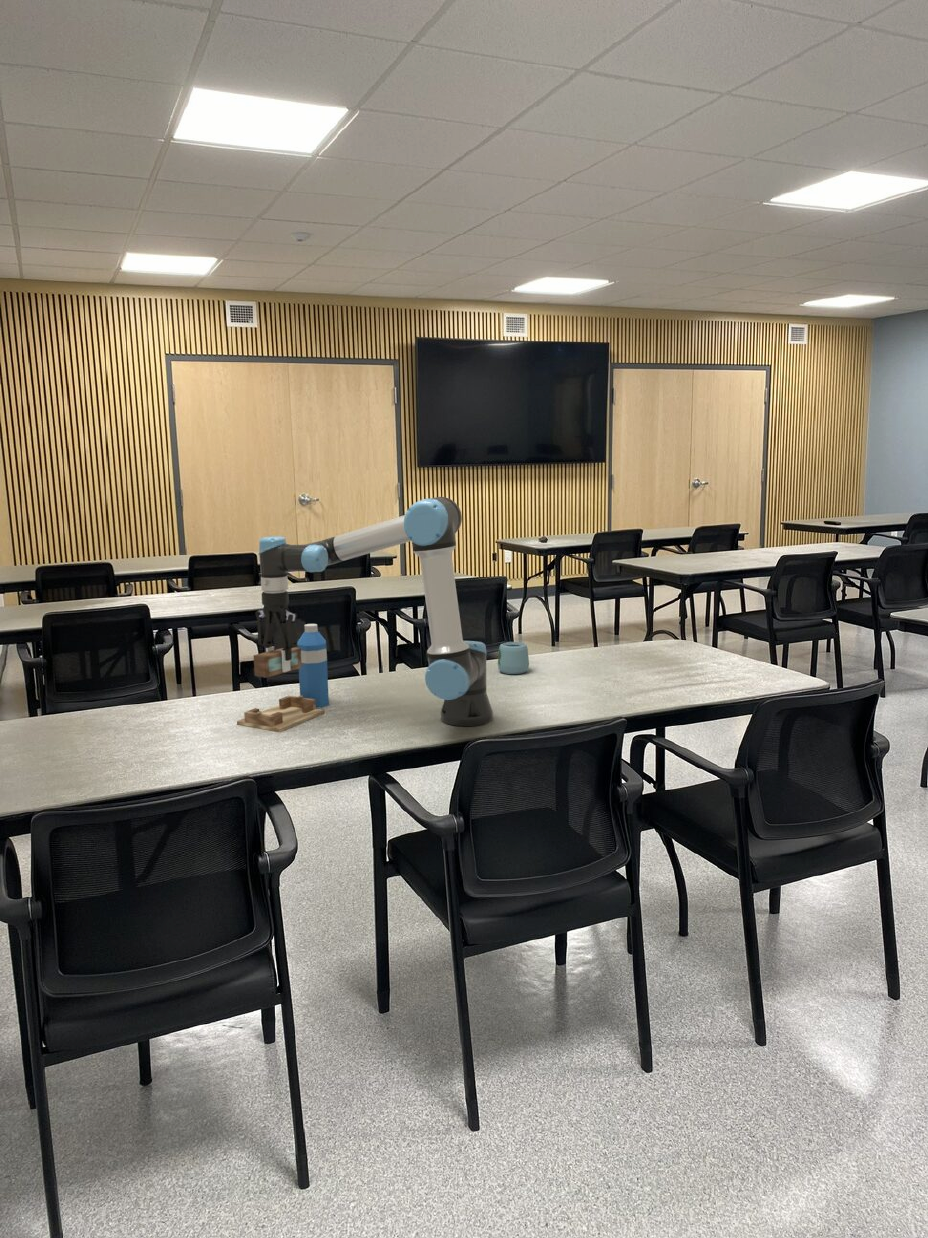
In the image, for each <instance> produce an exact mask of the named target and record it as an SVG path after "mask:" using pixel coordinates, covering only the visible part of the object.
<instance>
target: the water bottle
mask: <svg viewBox="0 0 928 1238" xmlns="http://www.w3.org/2000/svg"><path fill="white" fill-rule="evenodd" d="M318 630H319V629H318V624H317V623H307V624H304V632H303V633H302V635H300V638H298V640H297V648H301V664H302V668H300V669H298V681H299V685H298V686H299V696H300V695H302V696H303V698H309V699H315V703H316V709H319V708H323V707H325V706H329V705H330V702H329V701H330V699H329V680H328V677H329V676H328V675H329V674H328V673H329V672H328V654H327V640H326V639H325V638H324V636H323V635H322V634H321V633H320V631H318Z"/></svg>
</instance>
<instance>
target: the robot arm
mask: <svg viewBox="0 0 928 1238" xmlns="http://www.w3.org/2000/svg"><path fill="white" fill-rule="evenodd" d="M462 522H463V515H462V511H461V508H460V506H459V505H458V504H457V502H455V501H454V500H453V499H451V498H449V497H446V496H437V497H433V498H432V497H431V498H424V499H420V500H418V501H416V502H415V503H413V504H412V505H411V506H409V508H408V509H407V511H406V512H405V514H404V515H401V516H398V517H395V518H392V519H388V520H385V521H381V522H378V523H375V524H374V523H373V524H371V525H368V526H365V527H361V528H358V529H355V530H353V531H349V532H345V533H342V534H340V535H339V534H338V535H336V536H332V537H329V538H328V537H327V538H325V539H322V540H320V541H319V540H318V541H314V542H310V543H306V544H289V543H288V544H287V541H286V538H285V537H284V536H264V537H262V538H260V539H259V542H258V547H259V548H258V555H259V563H260V564H259V566H260V567H259V569H260V585H261V586H260V588H261V591H262V593H261V604H262V605H263V608H262V609H261V610H257V611H255V613H254V614H255V617H256V623H257V624H256V625H257V643H258V645H259V646H262V647H263V648H264V650H263V651H264V652H263V653H265V652H269V651H273V650H275V646H274V643H273V638H274V632H275V626H276V627H277V628H278V632H279V636H280V640H281V644H282V646H283V647H282V648H283V649H282V650H281V652H282V671H283V672H285V673H288V672H287V671H289V672H291V671H290V670H291V668H290V660H291V659H292V653H291V649H292V648H294V647H297V648H298V644H297V642H298V640H297V639H298V637H297V623H296V621H297V618H298V614H297V613H293V612H291V611H290V610H289V608H288V605H289V601H290V600H289V591H288V590H289V581H288V572H305V573H306V572H307V573H308V572H309V573H315V572H317V573H318V572H319V573H321V572H323V571H325V570H326V568H327V567H328V566H331V565H335V564H338V563H342V562H344V561H347V560H351V559H354V558H358V557H361V556H364V555H368V554H371V553H375V552H379V551H382V550H385V549H388V548H393V547H396V546H399V545H403V544H406V543H409V542H411V546H412V553H413V554H414V555H416V556H417V557H418V558H419V563H420V569H421V577H422V584H423V591H424V597H425V600H424V601H425V605H426V613H427V621H428V627H429V635H430V642H431V644H430V646H429V648H428V649H427V651H426V655H427V661H428V667H427V668H426V671H425V674H424V682H425V685H426V688H427V689H428V690H429V691H430V693H431V694H432V695H434V696H435V697H436V698H438V699H441V700H443V704H442V707H441V710H440V720H441V722H443V723H444V724H447V725H450V726H456V727H475V726H481V725H485V724H488V723H490V722H491V721H492V720H493V719H494V718H493V717H494V715H493V713H494V712H493V709H492V706H491V702H490V700H489V697H488V694H487V655H488V653H487V648H486V647H487V646H486V644H485V643H484V642H482V641H475V640H464V639H463V632H462V623H461V617H460V608H459V601H458V594H457V588H456V587H457V585H456V578H455V572H454V564H453V557H452V556H453V555H452V553H453V551H454V550H455V549H456V547H457V542H456V535H455V534H456V533H457V532H458V531H459V529H460V527H461V526H462V525H461V524H462Z"/></svg>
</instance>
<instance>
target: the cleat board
mask: <svg viewBox="0 0 928 1238" xmlns="http://www.w3.org/2000/svg"><path fill="white" fill-rule="evenodd" d="M278 701H279V702H278V704H277V705H275V706H272V707H270V708H267V709H265V710H262V711H260V708H252V709H250V710H247V711H244V713H243V714H244V717H243V718H241V719H239V720H237V721H236V725H239V726H244V727H249V728H255V729H260V730H261V729H262V730H267V731H273V732H277V733H281V732H283V731H287V730H289V729H291V728H293V727H296V726H298V725H300V724H303V723H305V722H308V721H310V720H313V719H315V718H317V717H319V716H321V715H324V714H325V710H324V709H319V708H316V703H315V699H309V698H303V696H302V695H300V694H299V695H298V696H294V695H286V696H284V697H280V698H279V699H278Z"/></svg>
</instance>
